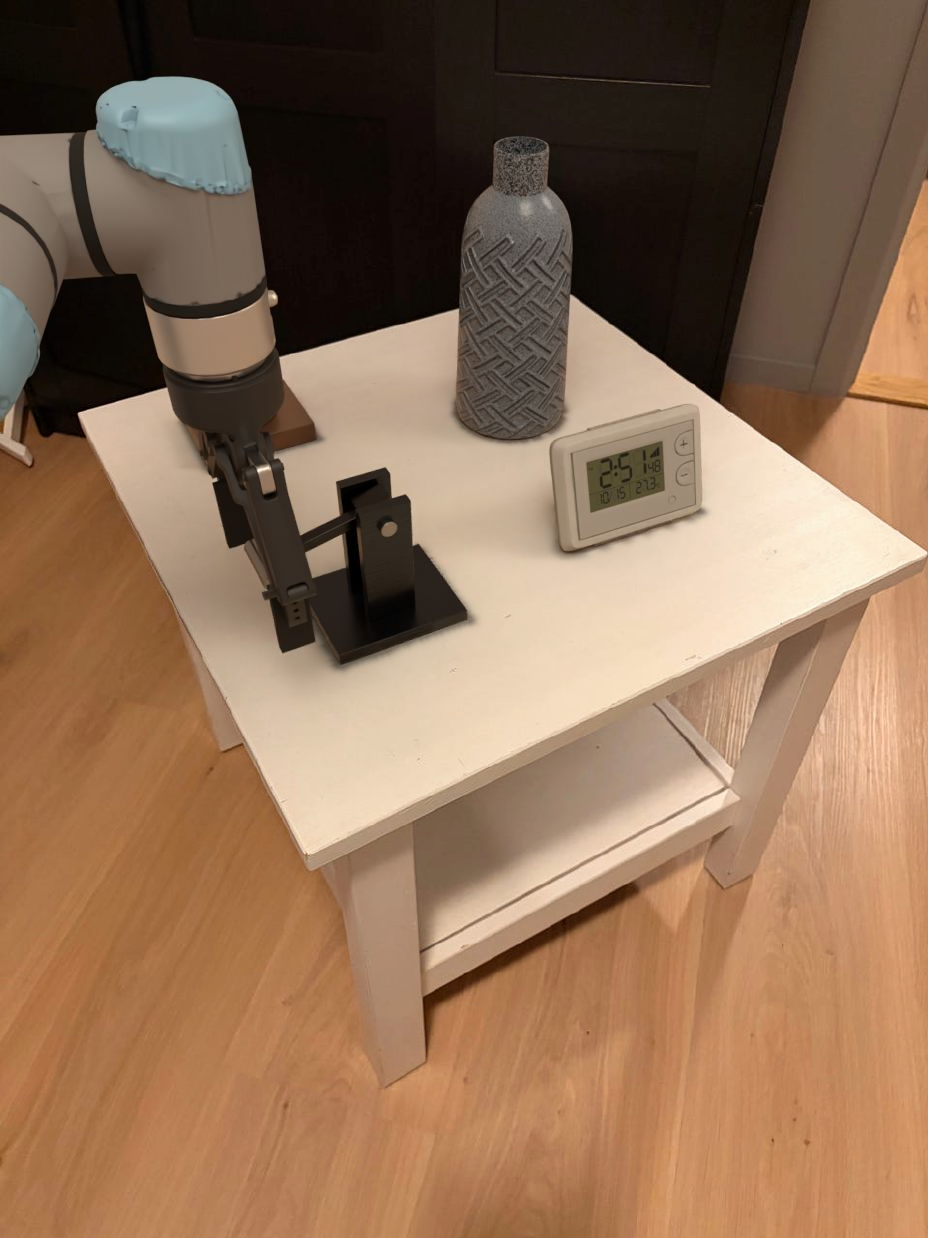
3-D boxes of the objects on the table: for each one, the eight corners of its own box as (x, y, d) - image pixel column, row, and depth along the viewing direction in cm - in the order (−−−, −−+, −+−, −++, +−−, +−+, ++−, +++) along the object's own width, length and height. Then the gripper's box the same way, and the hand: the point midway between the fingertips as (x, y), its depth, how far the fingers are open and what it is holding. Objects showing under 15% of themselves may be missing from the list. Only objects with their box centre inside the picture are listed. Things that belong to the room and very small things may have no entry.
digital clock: (555, 560, 87) (565, 468, 79) (529, 502, 93) (535, 411, 86) (715, 535, 90) (739, 443, 82) (679, 480, 96) (698, 390, 88)
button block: (208, 469, 97) (201, 437, 94) (183, 421, 103) (175, 389, 100) (316, 439, 101) (312, 407, 98) (286, 395, 107) (281, 364, 104)
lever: (269, 597, 72) (258, 577, 71) (249, 559, 76) (238, 539, 74) (405, 528, 74) (398, 507, 73) (381, 494, 78) (373, 473, 76)
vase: (581, 428, 103) (611, 159, 82) (480, 451, 99) (486, 177, 79) (535, 374, 110) (552, 117, 90) (440, 394, 107) (436, 132, 87)
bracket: (340, 665, 78) (324, 549, 68) (299, 592, 84) (280, 477, 75) (467, 619, 81) (468, 504, 72) (419, 552, 88) (414, 439, 79)
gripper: (345, 435, 53) (371, 677, 69) (220, 266, 69) (264, 493, 84) (218, 471, 51) (275, 713, 66) (118, 287, 67) (182, 517, 82)
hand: (269, 590), depth 75 cm, fingers open, 13 cm apart
